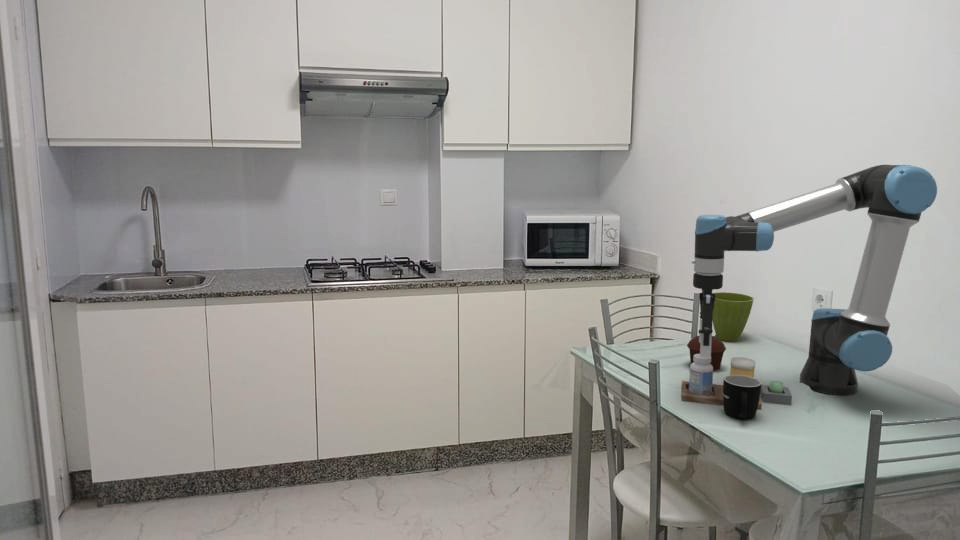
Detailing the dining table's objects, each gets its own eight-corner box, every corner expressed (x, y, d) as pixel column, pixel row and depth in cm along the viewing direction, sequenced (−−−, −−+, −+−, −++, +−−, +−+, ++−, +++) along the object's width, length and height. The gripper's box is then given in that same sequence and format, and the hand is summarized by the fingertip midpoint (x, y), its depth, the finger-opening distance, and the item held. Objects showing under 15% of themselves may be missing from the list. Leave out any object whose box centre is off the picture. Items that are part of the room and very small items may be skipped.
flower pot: (744, 334, 246) (747, 293, 243) (755, 346, 231) (758, 301, 228) (702, 332, 248) (705, 291, 245) (711, 344, 233) (714, 300, 230)
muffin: (722, 363, 212) (725, 333, 210) (726, 374, 201) (729, 342, 200) (684, 360, 215) (686, 330, 213) (686, 370, 204) (688, 339, 202)
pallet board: (756, 397, 182) (757, 388, 182) (760, 413, 171) (761, 404, 170) (681, 389, 188) (682, 380, 188) (681, 404, 177) (681, 395, 176)
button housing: (787, 399, 181) (788, 387, 180) (790, 408, 174) (792, 396, 174) (759, 396, 183) (760, 384, 182) (762, 405, 176) (763, 393, 176)
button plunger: (781, 394, 179) (782, 381, 179) (783, 398, 176) (784, 386, 175) (768, 392, 180) (769, 380, 180) (769, 396, 177) (770, 384, 176)
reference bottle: (751, 396, 180) (754, 358, 178) (753, 404, 174) (756, 365, 172) (727, 394, 182) (730, 356, 180) (728, 402, 176) (731, 363, 174)
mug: (719, 409, 173) (722, 373, 171) (755, 413, 171) (759, 376, 169) (723, 427, 162) (726, 388, 160) (762, 431, 160) (765, 392, 158)
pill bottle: (709, 392, 183) (712, 353, 181) (712, 400, 177) (715, 360, 175) (687, 390, 184) (689, 352, 182) (689, 398, 178) (692, 358, 176)
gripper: (693, 264, 188) (689, 336, 191) (694, 281, 164) (690, 362, 168) (720, 265, 185) (717, 337, 189) (725, 282, 162) (721, 364, 166)
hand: (704, 349), depth 178 cm, fingers open, 13 cm apart
